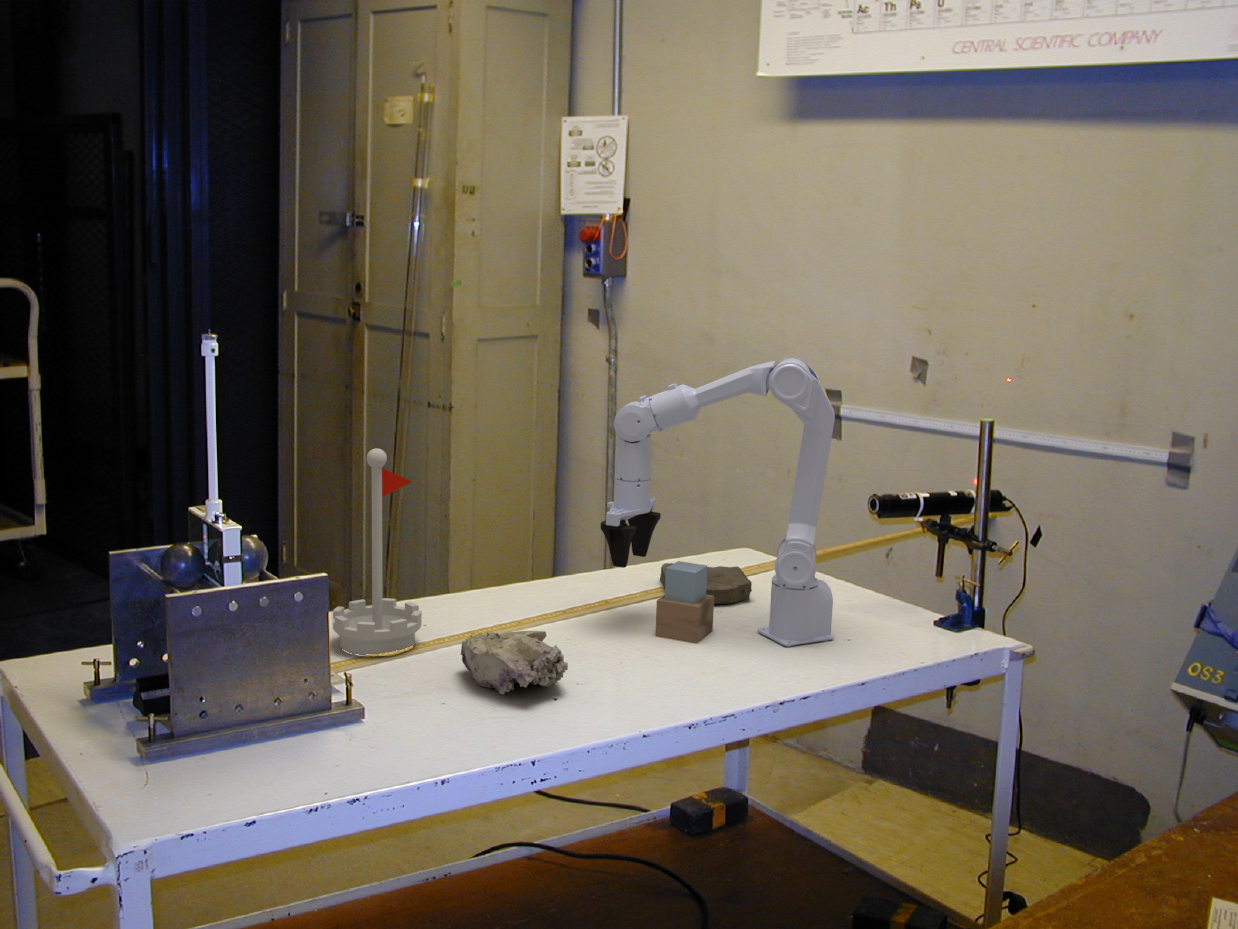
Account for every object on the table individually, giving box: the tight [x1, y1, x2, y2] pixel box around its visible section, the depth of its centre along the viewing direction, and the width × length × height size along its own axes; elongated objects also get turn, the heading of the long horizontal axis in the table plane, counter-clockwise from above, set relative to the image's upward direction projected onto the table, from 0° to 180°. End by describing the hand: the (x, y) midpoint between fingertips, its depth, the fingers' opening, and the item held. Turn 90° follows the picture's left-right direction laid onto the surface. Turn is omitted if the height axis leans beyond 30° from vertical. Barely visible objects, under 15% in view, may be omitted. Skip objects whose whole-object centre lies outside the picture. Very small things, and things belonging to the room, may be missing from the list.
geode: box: [460, 630, 569, 695], centre depth 165 cm, size 17×9×15 cm
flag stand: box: [332, 447, 423, 655], centre depth 177 cm, size 13×13×30 cm
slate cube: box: [664, 561, 709, 604], centre depth 188 cm, size 5×5×5 cm
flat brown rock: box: [659, 562, 753, 605], centre depth 211 cm, size 17×15×4 cm
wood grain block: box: [655, 594, 715, 645], centre depth 189 cm, size 7×7×6 cm
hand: (629, 561), depth 192 cm, fingers open, 7 cm apart
